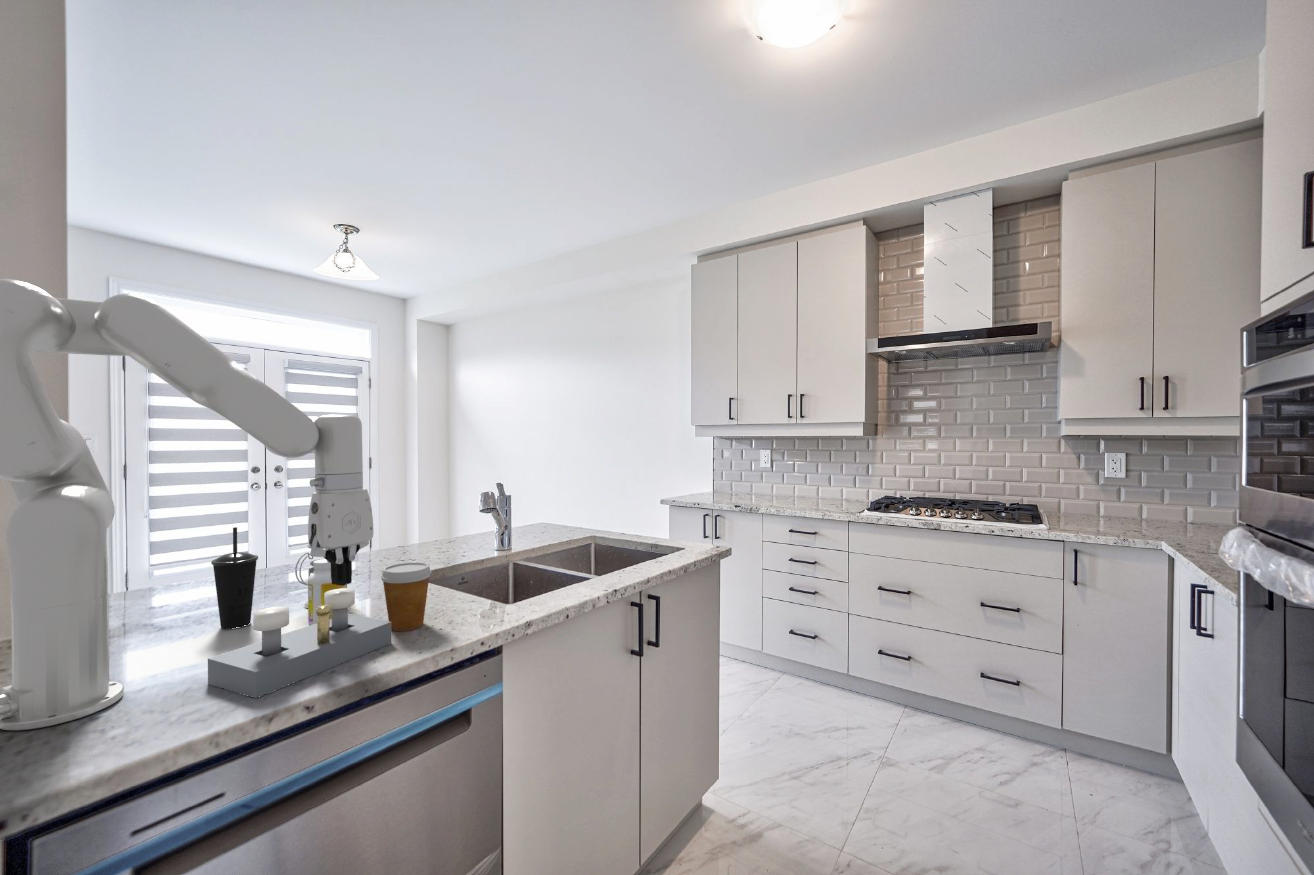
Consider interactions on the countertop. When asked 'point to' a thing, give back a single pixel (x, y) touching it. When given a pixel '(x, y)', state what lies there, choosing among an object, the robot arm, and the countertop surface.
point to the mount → (295, 656)
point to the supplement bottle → (319, 588)
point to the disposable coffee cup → (406, 594)
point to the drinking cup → (235, 586)
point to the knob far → (339, 606)
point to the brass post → (323, 623)
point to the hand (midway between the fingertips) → (341, 583)
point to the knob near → (271, 627)
